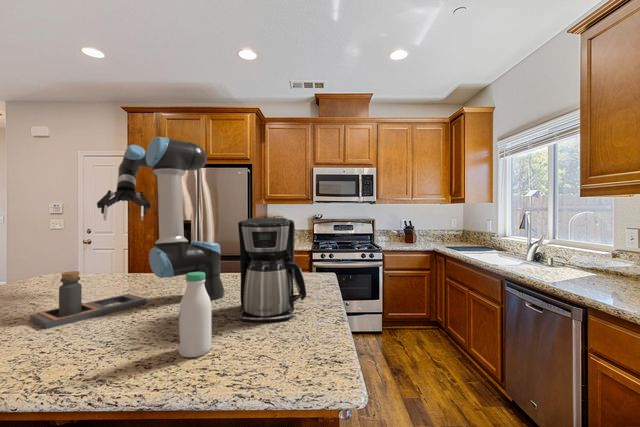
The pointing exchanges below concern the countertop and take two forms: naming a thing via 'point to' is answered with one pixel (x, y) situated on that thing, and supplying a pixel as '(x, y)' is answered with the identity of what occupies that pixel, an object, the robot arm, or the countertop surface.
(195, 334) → the milk bottle
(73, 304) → the bottle
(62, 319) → the rail
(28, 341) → the countertop surface
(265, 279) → the coffee maker
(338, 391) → the countertop surface
